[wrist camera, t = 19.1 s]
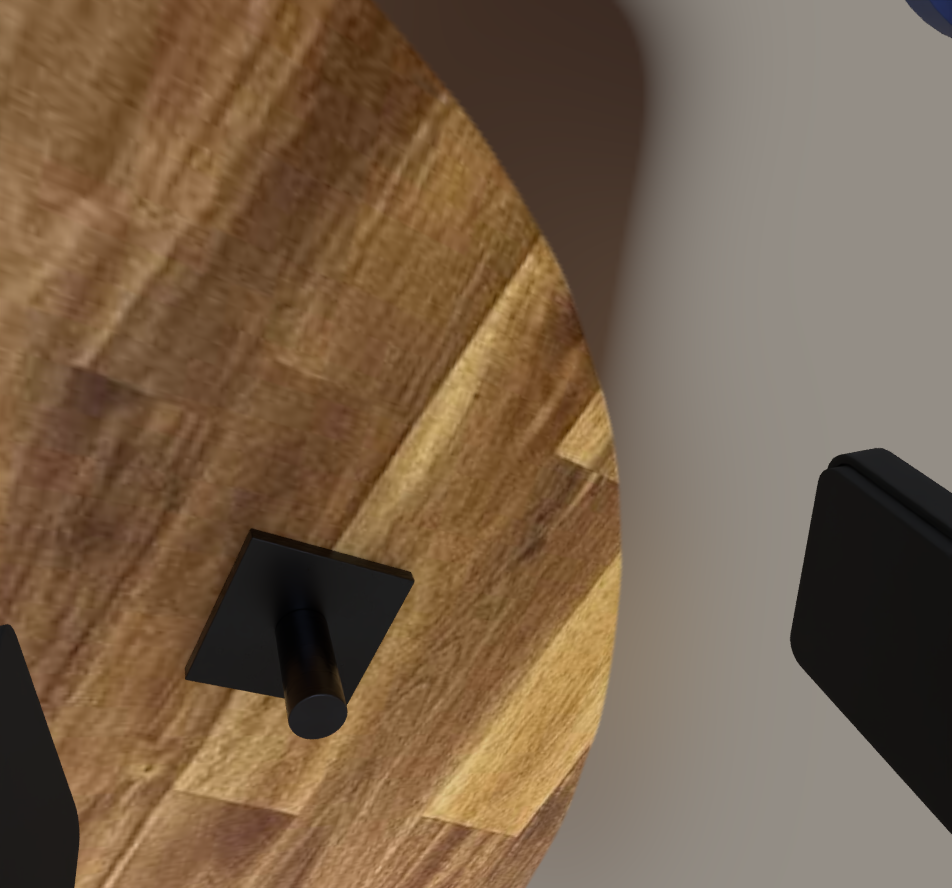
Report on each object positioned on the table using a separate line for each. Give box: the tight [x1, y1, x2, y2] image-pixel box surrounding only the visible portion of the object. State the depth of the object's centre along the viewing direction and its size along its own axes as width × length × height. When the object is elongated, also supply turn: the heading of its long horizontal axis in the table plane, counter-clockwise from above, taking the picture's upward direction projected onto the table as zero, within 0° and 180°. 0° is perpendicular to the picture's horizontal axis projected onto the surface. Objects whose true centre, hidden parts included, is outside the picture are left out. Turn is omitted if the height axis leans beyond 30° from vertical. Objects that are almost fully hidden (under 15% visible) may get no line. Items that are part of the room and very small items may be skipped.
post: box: [185, 529, 414, 739], centre depth 39 cm, size 8×8×6 cm
